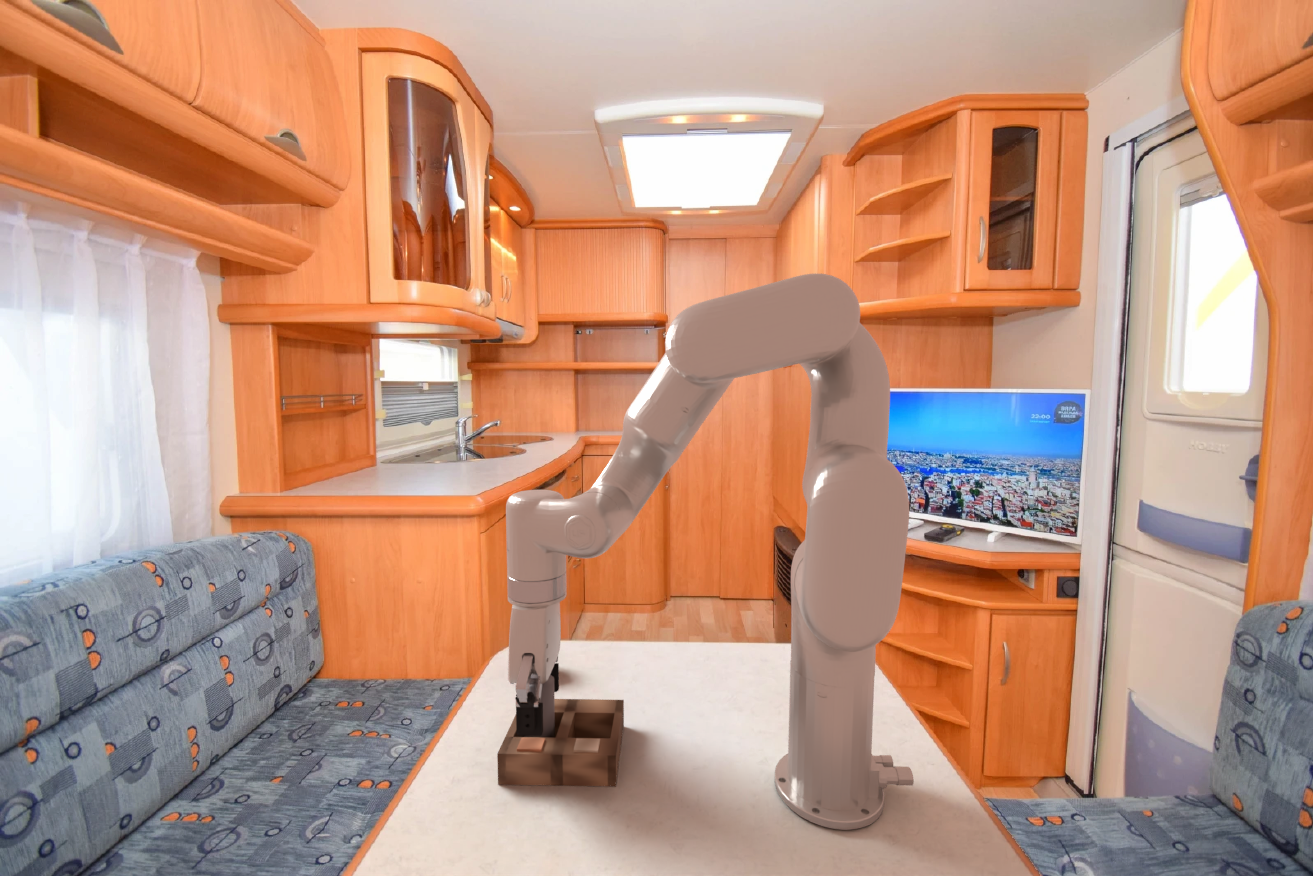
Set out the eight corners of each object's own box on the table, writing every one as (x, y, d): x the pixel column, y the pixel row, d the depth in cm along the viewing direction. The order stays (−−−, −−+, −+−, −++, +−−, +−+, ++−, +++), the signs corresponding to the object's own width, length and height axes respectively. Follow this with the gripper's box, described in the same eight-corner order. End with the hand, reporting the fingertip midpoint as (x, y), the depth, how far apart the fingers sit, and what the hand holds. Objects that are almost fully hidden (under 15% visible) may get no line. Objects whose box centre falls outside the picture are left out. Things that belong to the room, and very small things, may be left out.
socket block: (623, 726, 78) (623, 697, 78) (615, 786, 66) (615, 753, 66) (523, 724, 78) (523, 696, 78) (498, 784, 66) (497, 751, 66)
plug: (557, 743, 74) (557, 673, 74) (551, 763, 70) (550, 689, 70) (528, 742, 74) (527, 673, 74) (521, 762, 70) (519, 689, 70)
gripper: (525, 564, 79) (527, 677, 81) (486, 612, 62) (489, 754, 63) (577, 565, 79) (578, 677, 80) (551, 613, 62) (553, 755, 63)
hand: (539, 711), depth 72 cm, fingers open, 9 cm apart
